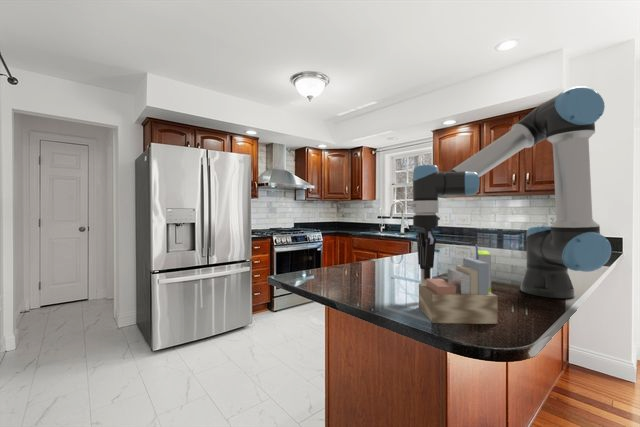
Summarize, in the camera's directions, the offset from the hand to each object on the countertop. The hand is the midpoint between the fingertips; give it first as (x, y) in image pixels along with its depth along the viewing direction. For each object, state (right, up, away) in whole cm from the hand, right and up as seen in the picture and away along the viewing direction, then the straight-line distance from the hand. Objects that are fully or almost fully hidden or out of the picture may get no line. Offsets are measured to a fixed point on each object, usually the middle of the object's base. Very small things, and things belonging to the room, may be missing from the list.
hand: (425, 288), depth 100 cm
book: (-1, -4, -14) cm, 14 cm away
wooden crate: (+3, -4, -14) cm, 15 cm away
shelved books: (+8, -4, -14) cm, 17 cm away
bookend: (+4, -4, -15) cm, 16 cm away
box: (+19, -4, +2) cm, 19 cm away
